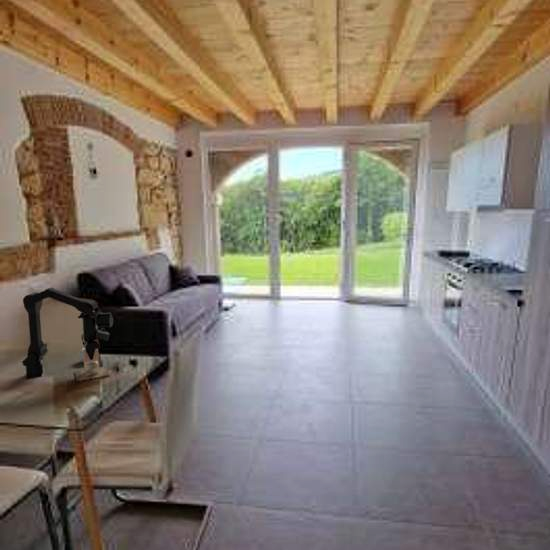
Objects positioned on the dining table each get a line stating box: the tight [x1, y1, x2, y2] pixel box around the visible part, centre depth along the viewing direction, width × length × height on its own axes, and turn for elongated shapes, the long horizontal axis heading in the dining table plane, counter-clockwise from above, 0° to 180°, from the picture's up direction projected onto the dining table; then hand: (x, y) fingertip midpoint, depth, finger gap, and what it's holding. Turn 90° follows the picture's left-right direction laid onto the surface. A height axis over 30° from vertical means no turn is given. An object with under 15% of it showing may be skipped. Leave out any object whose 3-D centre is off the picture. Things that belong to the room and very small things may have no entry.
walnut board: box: [74, 366, 111, 382], centre depth 199 cm, size 14×12×1 cm
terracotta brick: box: [84, 349, 99, 363], centre depth 198 cm, size 6×4×5 cm, turn 120°
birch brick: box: [83, 361, 100, 376], centre depth 199 cm, size 6×4×5 cm, turn 121°
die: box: [76, 347, 87, 364], centre depth 215 cm, size 8×9×10 cm
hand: (91, 358), depth 198 cm, fingers closed on terracotta brick, 4 cm apart
